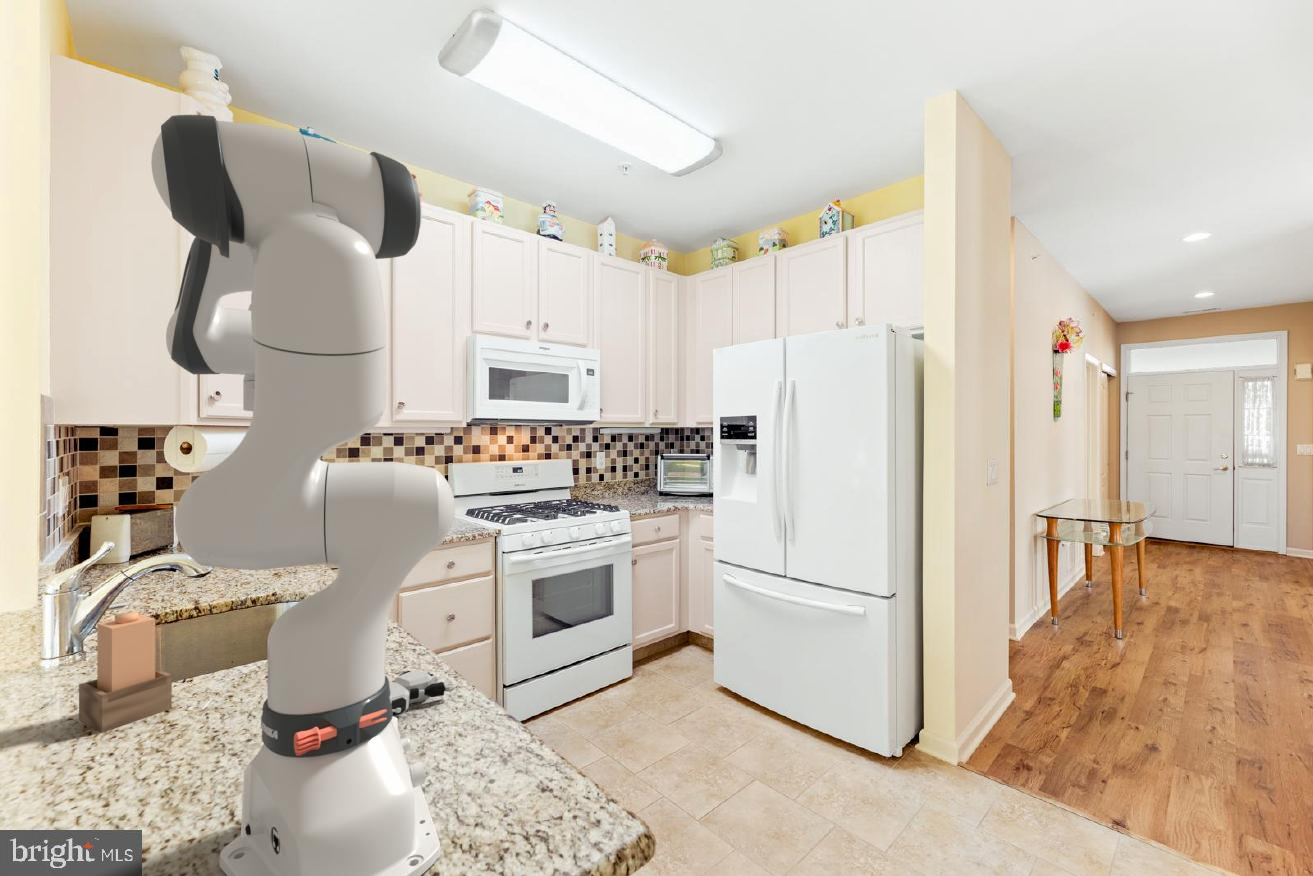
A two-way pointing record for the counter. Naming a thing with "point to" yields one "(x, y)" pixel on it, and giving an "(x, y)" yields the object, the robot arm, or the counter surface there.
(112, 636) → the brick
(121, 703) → the brown wooden box
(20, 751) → the counter surface
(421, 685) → the robot toy
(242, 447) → the robot arm
